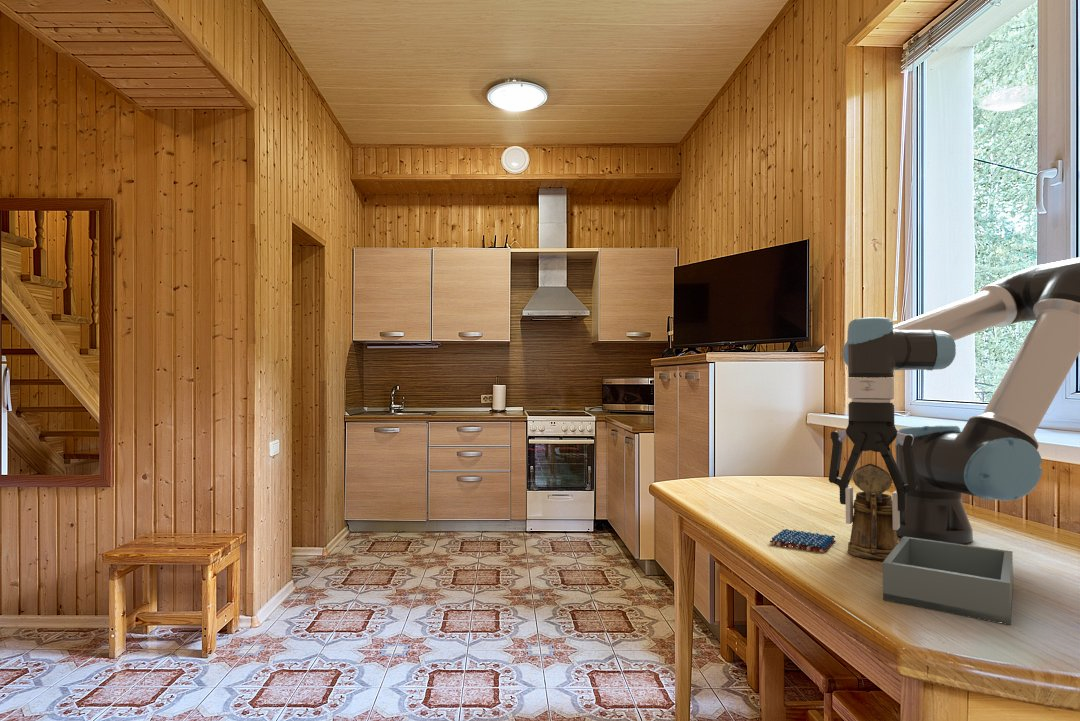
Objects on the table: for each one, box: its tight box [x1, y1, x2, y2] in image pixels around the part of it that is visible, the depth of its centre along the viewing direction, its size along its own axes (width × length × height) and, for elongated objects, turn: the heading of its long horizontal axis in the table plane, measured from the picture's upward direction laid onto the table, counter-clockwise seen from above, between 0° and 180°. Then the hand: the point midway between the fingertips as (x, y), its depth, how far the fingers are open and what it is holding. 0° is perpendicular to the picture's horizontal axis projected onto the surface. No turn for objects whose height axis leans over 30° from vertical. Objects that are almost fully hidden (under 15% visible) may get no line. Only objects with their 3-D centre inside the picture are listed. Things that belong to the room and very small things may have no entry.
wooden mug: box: [847, 463, 899, 562], centre depth 113 cm, size 9×14×18 cm, turn 149°
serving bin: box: [882, 536, 1014, 626], centre depth 94 cm, size 20×15×6 cm
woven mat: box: [769, 528, 836, 554], centre depth 123 cm, size 10×11×2 cm
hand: (872, 525), depth 113 cm, fingers closed on wooden mug, 7 cm apart
